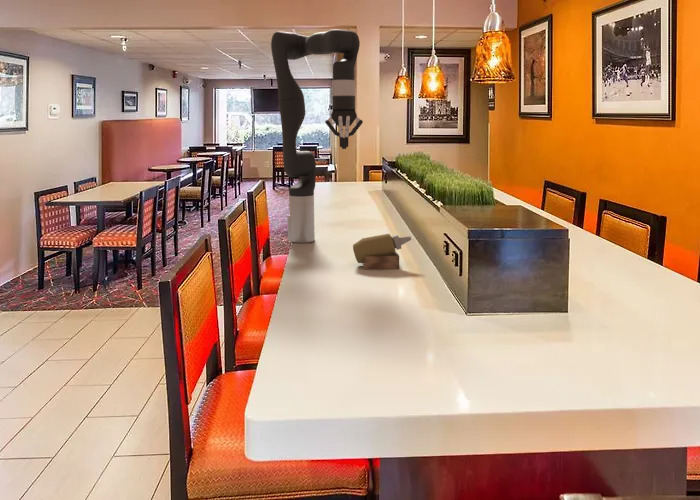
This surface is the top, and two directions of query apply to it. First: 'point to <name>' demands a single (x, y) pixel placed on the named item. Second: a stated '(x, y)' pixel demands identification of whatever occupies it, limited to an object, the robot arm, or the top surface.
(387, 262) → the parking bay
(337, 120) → the robot arm
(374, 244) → the squeeze bottle
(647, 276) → the top surface
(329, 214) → the top surface
